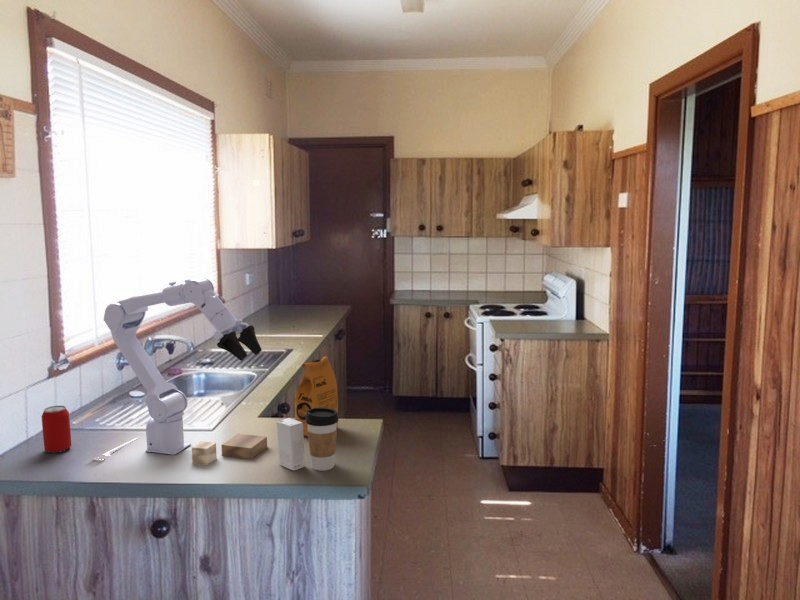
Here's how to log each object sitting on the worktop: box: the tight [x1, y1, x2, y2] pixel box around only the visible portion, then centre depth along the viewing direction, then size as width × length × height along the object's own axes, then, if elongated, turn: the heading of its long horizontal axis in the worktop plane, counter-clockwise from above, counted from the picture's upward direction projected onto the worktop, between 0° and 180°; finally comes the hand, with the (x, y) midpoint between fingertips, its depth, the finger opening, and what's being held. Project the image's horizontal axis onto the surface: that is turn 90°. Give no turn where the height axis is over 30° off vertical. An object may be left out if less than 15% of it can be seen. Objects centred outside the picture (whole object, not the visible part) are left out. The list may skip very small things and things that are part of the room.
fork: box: [87, 437, 139, 462], centre depth 179 cm, size 3×20×2 cm, turn 167°
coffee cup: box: [306, 408, 339, 472], centre depth 167 cm, size 8×8×15 cm
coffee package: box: [294, 356, 339, 438], centre depth 192 cm, size 10×12×22 cm
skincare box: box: [276, 417, 306, 472], centre depth 167 cm, size 6×4×12 cm
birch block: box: [191, 441, 218, 466], centre depth 171 cm, size 4×4×4 cm
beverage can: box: [41, 405, 72, 453], centre depth 179 cm, size 7×7×12 cm
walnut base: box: [221, 433, 268, 460], centre depth 178 cm, size 9×9×3 cm
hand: (251, 355), depth 168 cm, fingers open, 7 cm apart
